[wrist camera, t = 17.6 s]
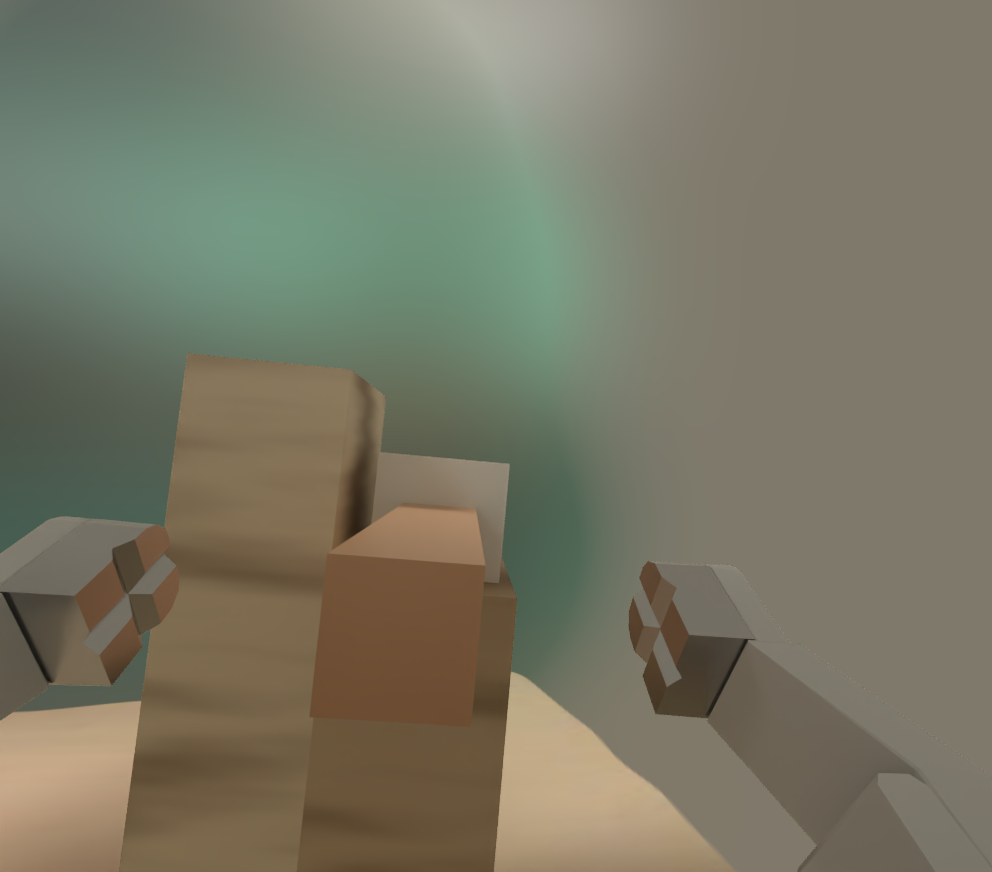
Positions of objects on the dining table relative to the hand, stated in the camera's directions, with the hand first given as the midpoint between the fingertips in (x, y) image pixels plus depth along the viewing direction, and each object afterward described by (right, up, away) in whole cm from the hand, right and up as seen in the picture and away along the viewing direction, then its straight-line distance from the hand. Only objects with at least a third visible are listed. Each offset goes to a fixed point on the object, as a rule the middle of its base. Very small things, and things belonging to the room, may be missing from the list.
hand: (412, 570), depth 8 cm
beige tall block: (-7, -21, +11) cm, 25 cm away
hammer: (-1, -3, +9) cm, 10 cm away
